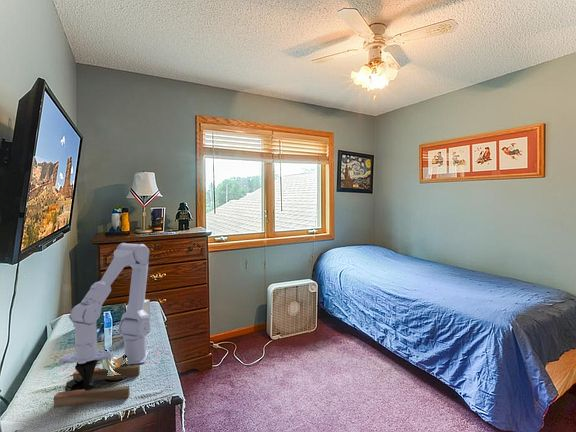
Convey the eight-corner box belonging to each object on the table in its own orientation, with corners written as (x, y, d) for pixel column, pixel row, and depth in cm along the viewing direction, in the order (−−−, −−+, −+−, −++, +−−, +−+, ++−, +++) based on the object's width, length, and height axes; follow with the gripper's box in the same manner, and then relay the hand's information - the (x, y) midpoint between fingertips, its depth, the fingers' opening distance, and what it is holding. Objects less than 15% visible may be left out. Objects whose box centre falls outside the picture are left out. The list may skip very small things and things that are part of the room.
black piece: (60, 411, 89) (59, 396, 89) (46, 404, 92) (45, 389, 92) (102, 386, 101) (101, 372, 100) (87, 381, 104) (86, 367, 103)
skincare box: (140, 329, 142) (139, 298, 141) (151, 331, 140) (150, 299, 139) (126, 337, 134) (125, 304, 133) (138, 339, 132) (137, 305, 131)
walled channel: (75, 379, 103) (75, 370, 103) (139, 372, 107) (139, 363, 107) (53, 407, 90) (53, 396, 90) (128, 398, 94) (127, 387, 94)
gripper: (53, 350, 91) (55, 393, 92) (107, 345, 94) (108, 387, 95) (65, 339, 98) (67, 379, 99) (114, 335, 101) (116, 374, 102)
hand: (88, 382), depth 98 cm, fingers closed
